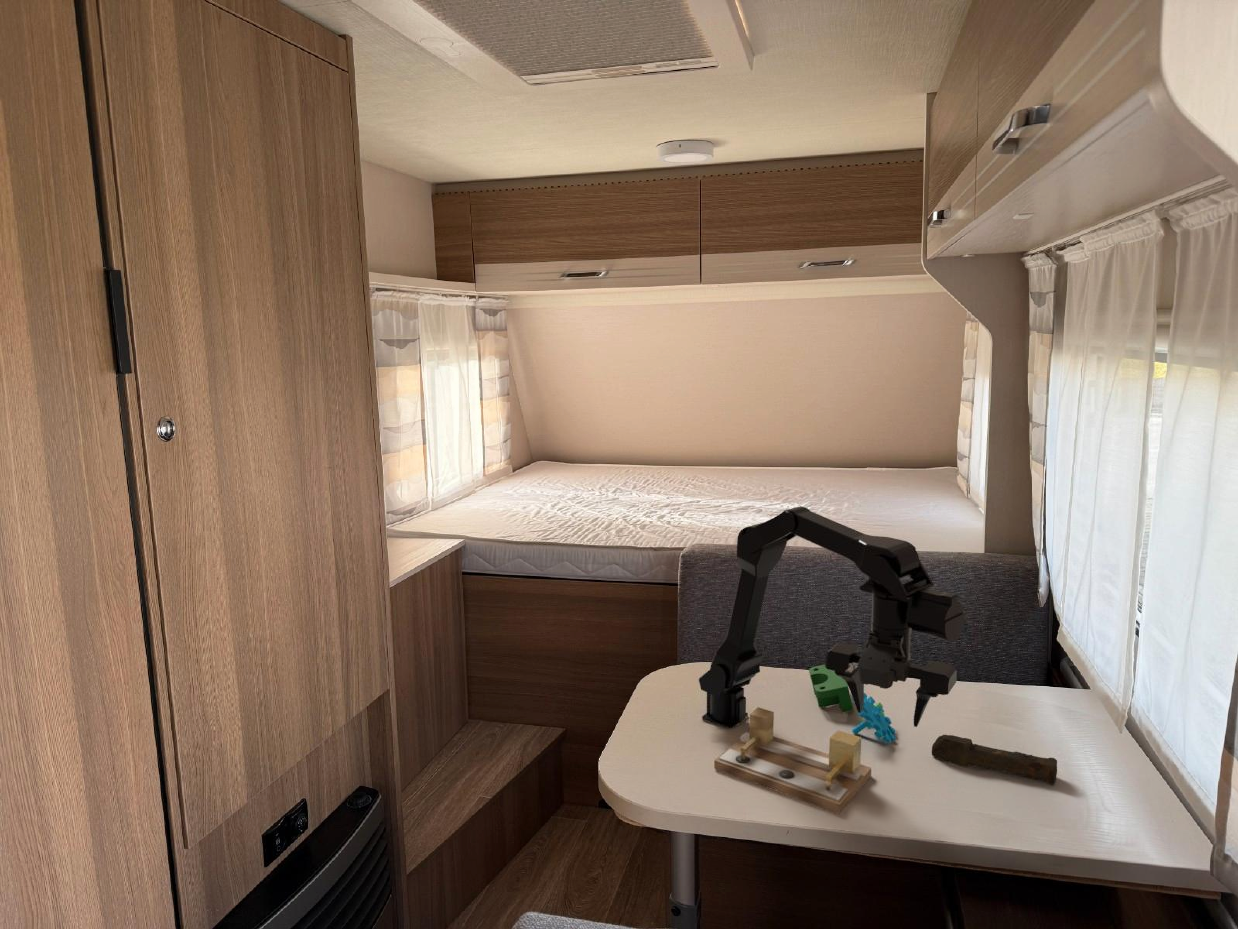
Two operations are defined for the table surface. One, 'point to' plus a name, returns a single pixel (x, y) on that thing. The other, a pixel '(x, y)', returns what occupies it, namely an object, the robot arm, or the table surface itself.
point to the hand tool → (993, 758)
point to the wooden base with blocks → (788, 766)
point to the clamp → (830, 688)
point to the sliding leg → (843, 755)
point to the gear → (875, 720)
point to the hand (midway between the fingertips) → (887, 718)
